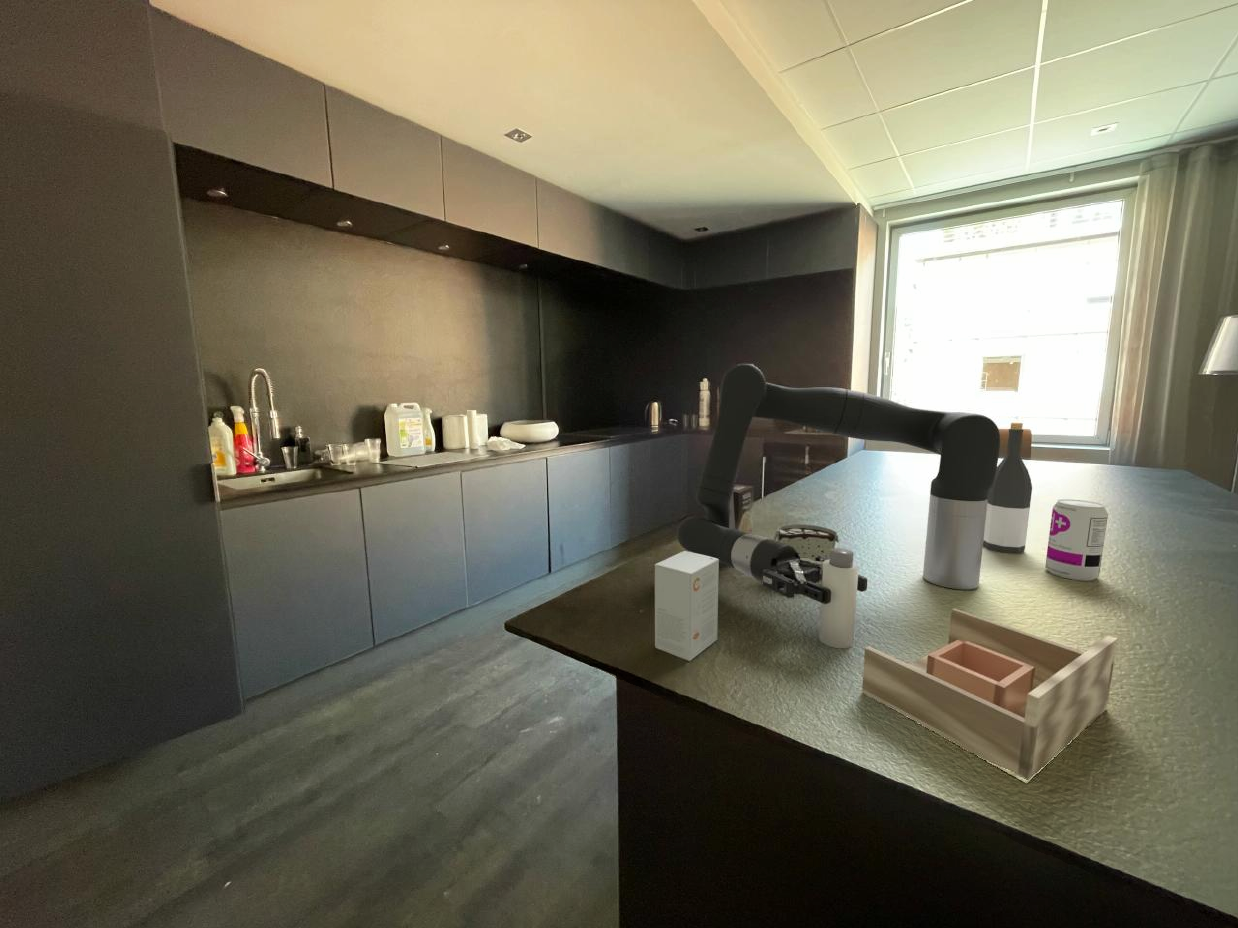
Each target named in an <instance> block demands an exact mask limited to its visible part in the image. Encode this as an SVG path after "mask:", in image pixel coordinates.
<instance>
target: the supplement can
mask: <svg viewBox="0 0 1238 928" xmlns="http://www.w3.org/2000/svg"><path fill="white" fill-rule="evenodd" d="M1051 511H1052V512H1051V519H1050V524H1049V533H1048V542H1047V548H1046V549H1047V550H1046V558H1045V563H1044V568H1045V569H1047V570H1048V572H1049V573H1050V574H1052V575H1054V576H1057V577H1060V578H1064V579H1069V580H1073V581H1083V582H1084V581H1085V582H1089V581H1094V580H1096V579H1097V578H1100V573H1101V567H1102V560H1103V553H1104V546H1105V539H1106V531H1107V524H1108V517H1109V513H1108V511H1107V509H1106V506H1105V505H1104V504H1102V503H1100V502H1099V503H1098V502H1095V501H1091V500H1090V501H1089V500H1080V499H1069V498H1067V499H1066V498H1063V499H1058V500H1057V502H1056V503H1055V504H1054V505H1053V506H1052V510H1051Z"/></svg>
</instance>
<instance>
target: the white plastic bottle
mask: <svg viewBox="0 0 1238 928" xmlns="http://www.w3.org/2000/svg"><path fill="white" fill-rule="evenodd" d="M854 554H855V553H854V551H852V550H851V549H846V548H840V547H839V548H838V547H835V548H833V549H830V557H829V559H828V560H825V561H824V562H823V575H822V584H821V586H823V587H826V588H829V589H830V590H831V602H830V603H828V604H823V603H821V602H820V607H819V608H820V610H819V625H818V640H819V641H820V642H821V643H822V644H824V645H826V646H828V647H831V648H835V649H849V648H852V647H853V645H854V635H855V634H854V633H855V621H856V606H857V595H858V593H857V592H858V590H857V583H858V575H859V568H860V567H859V565H858V564H856V563H855V562H854V556H855V555H854Z"/></svg>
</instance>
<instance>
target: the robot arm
mask: <svg viewBox="0 0 1238 928" xmlns="http://www.w3.org/2000/svg"><path fill="white" fill-rule="evenodd" d="M719 399H720V404H719V411H718V417H717V421H716V426H715V430H714V434H713V437H712V440H711V443H710V447H709V450H708V452H707V453H708V454H707V456H706V459H705V463H704V465H703V469H702V472H701V474H700V479H699V482H698V487H697V489H696V490H697V491H696V494H695V500H696V503H697V504H699V505H700V506H701V507H702V508H704V511H705V518H703V517H699V516H688V517H686V518H684V519H683V520H681V522H680V523H679V525H678V526H677V530H676V538H677V541H678V543H679V545H680V546H681V547H682V548H683V549H685V551H688V552H692V553H697V554H701V555H706V556H710V557H714V558H717V559H719V563H721V564H723V565H725V566H727V567H730V568H732V569H735V570H737V571H739V572H740V573H742V574H744V575H745V576H747V577H749V578H751V579H754V580H756V581H759V582H761V583H762V586H763V587H765V588H767V589H769V590H771V591H773V592H775V593H776V594H780V595H781V596H784V597H786V598H789V599H794V598H795V595H797V596H798V597H800V598H805V597H807V598H808V599H809V598H810V599H811V600H814V601H816V602H819V603H820V604H821V603H823V604H828V603H830V602H831V590H830V589H829V588H826V587H823V586H822V579H820V574H822V573H823V562H824V561H825V560H828V558H825V557H822V556H815V561H812V560H811V559H807V558H800V557H799V555H798V553H797V551H796V550H795V549H794V548H793V547H792V546H790V545H787V544H784V543H781V542H778V540H776V541H775V540H774V539H771V538H769V537H765V536H763V535H759V534H753V533H752V534H749V533H746V532H743V531H740V530H736V529H731V528H729V524H730V500H731V497H732V493H733V490H734V486H735V485H736V481H737V477H738V473H739V468H740V464H741V458H742V454H743V451H744V450H743V449H744V445H745V442H746V439H747V434H748V431H749V428H750V425H751V422H752V420H753V418H759V419H768V420H775V421H782V422H786V423H789V424H794V425H797V426H800V427H804V428H808V429H812V430H816V431H820V432H824V433H829V434H833V435H837V436H840V437H841V436H842V437H847V438H851V439H856V440H863V441H864V440H866V441H877V442H893V443H899V444H904V445H909V446H912V447H916V448H917V449H918V448H920V449H922V450H925V451H929V452H932V453H934V454H938V456H939V455H940V459H939V467H938V472H937V475H936V476H935V478H933V479H932V480H931V481H930V482H931V483H930V492H929V494H930V495H929V502H928V513H927V514H928V516H927V525H926V526H927V528H926V536H925V537H926V538H925V547H924V548H925V549H924V558H923V559H924V560H923V568H922V569H923V570H922V577H923V579H924V580H926V581H927V582H929V583H932V584H934V585H937V586H939V587H944V588H949V589H954V590H963V591H964V590H965V591H966V590H967V591H968V590H974V589H978V588H979V585H980V577H981V576H980V575H981V569H982V568H981V567H982V559H983V549H984V546H983V541H984V531H985V522H986V512H987V502H988V494H989V490H990V488H991V487H992V485H993V483H994V480H995V476H996V469H997V466H998V464H999V463H998V462H999V455H1000V449H1001V433H1000V430H999V427H998V425H997V424H996V423H995V421H994V420H992V419H991V418H989V417H988V416H986V415H984V414H980V413H972V412H960V411H957V412H956V411H942V410H941V411H939V410H931V409H922V408H915V407H911V406H907V405H903V404H900V403H898V402H897V401H896V402H895V401H893V400H890V399H888V398H884V397H881V396H877V395H875V394H871V393H866V392H863V391H862V392H861V391H858V390H851V389H848V388H847V389H846V388H843V387H842V388H841V387H828V386H827V387H826V386H825V387H823V386H821V387H820V386H819V387H787V386H783V385H778V384H774V383H770V382H767V381H766V377H765V375H764V373H763V372H762V370H761V369H759V368H758V367H757V366H755V365H752V364H750V363H741V364H740V363H739V364H737V365H735V366H732V367H731V368H730V369H728V371H727V372H725V374H724V376H723V377H722V379H721V382H720V388H719ZM867 590H868V578H867V577H865V576H863V575H861V574H858V583H857V592H866V591H867Z"/></svg>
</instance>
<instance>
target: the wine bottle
mask: <svg viewBox="0 0 1238 928" xmlns="http://www.w3.org/2000/svg"><path fill="white" fill-rule="evenodd" d="M1023 424H1024V423H1023V422H1011V423H1010V428H1009V429H1008V439H1007V449H1006V455H1005V456H1004V458H1003V459H1002V461H1001V462H1000V463H998V464H997V469H996V476H995V480H994V483H993V485H992V487H991V488H990V490H989V494H988V502H987V512H986V522H985V531H984V541H983V548H986V549H987V550H991V551H995V552H999V553H1003V554H1005V553H1006V554H1018V555H1019V554H1021V553H1024V552H1025V549H1026V541H1027V534H1028V527H1029V518H1030V509H1031V503H1032V502H1031V500H1032V493H1033V484H1032V479H1031V476H1030V474H1029V470H1028V468H1027V467H1026V464H1025V463H1024V461H1023V459H1022V457H1021V452H1022V451H1021V450H1022V441H1023V433H1024V428H1023Z"/></svg>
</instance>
